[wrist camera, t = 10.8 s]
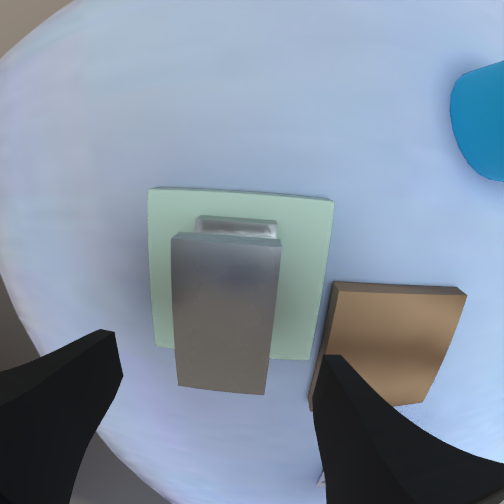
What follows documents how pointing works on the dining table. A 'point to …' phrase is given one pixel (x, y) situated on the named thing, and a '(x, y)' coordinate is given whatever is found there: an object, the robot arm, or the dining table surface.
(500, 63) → the mug
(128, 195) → the dining table surface
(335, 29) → the dining table surface
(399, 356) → the stand
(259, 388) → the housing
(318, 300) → the stand
